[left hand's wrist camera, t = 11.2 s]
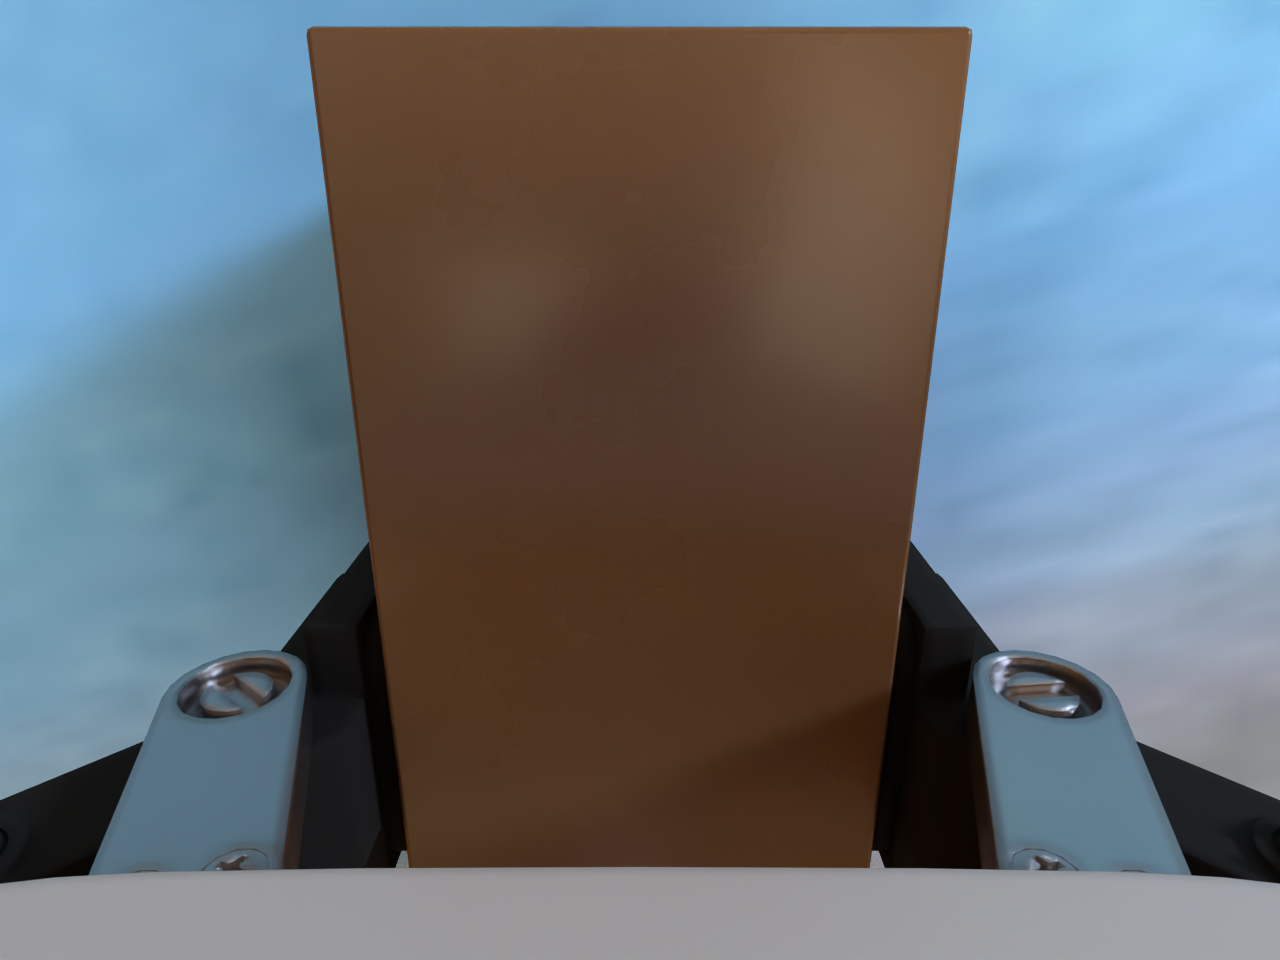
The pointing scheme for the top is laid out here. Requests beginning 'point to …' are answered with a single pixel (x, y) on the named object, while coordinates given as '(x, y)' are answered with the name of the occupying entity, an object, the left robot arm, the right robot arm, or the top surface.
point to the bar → (639, 421)
